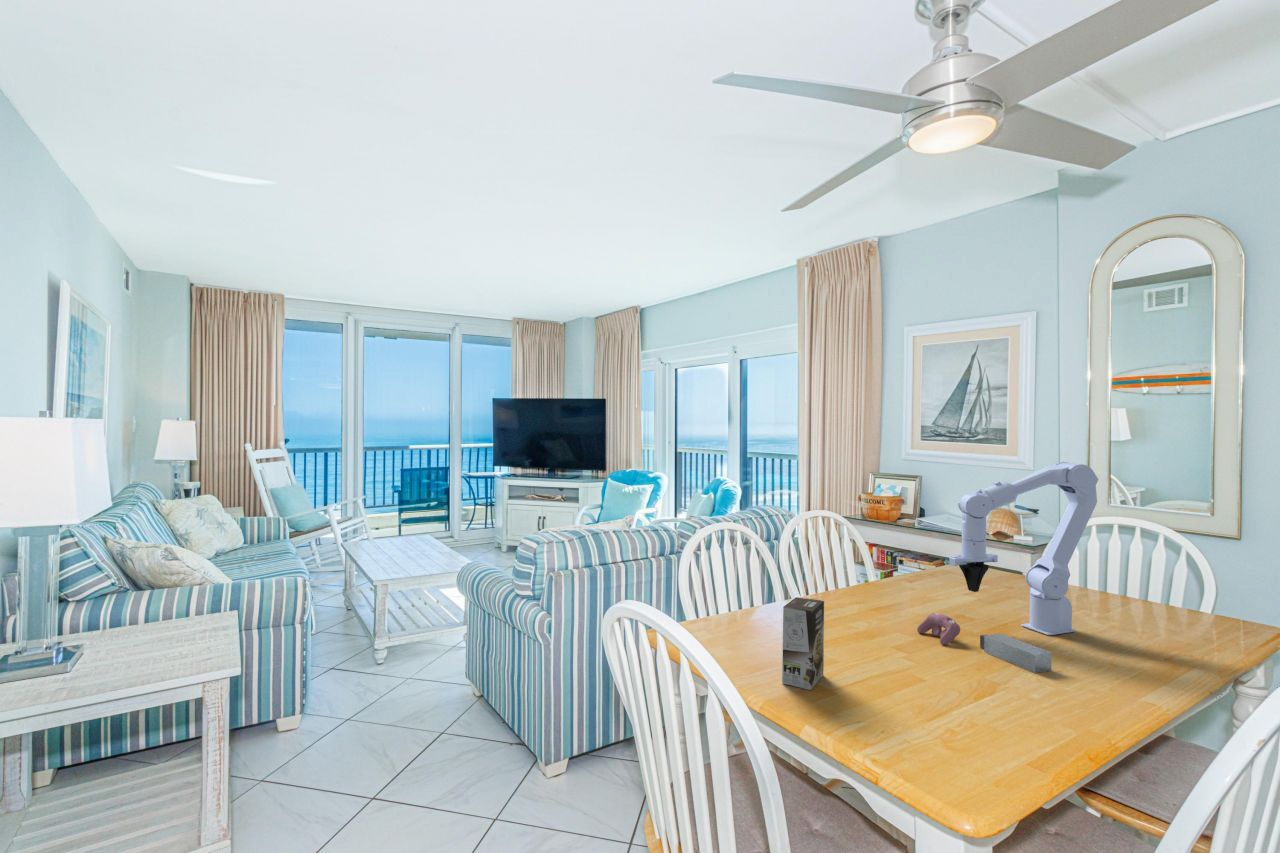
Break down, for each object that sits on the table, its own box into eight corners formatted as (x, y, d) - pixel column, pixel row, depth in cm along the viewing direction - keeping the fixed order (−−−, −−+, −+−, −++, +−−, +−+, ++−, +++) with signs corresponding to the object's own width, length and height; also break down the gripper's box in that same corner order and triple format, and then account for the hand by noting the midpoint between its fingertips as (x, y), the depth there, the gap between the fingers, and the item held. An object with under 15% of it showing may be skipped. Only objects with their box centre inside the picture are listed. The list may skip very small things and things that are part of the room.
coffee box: (812, 691, 126) (812, 611, 126) (781, 683, 129) (781, 606, 129) (824, 675, 134) (825, 600, 133) (795, 669, 137) (795, 595, 137)
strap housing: (999, 649, 149) (999, 633, 149) (1051, 670, 137) (1051, 652, 137) (984, 651, 147) (984, 635, 147) (1034, 673, 135) (1035, 655, 135)
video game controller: (955, 651, 152) (966, 624, 153) (941, 644, 151) (952, 617, 152) (927, 637, 161) (938, 612, 162) (914, 630, 160) (924, 605, 161)
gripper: (982, 535, 171) (981, 584, 172) (940, 538, 167) (939, 589, 167) (1004, 540, 165) (1004, 591, 165) (961, 543, 160) (961, 596, 160)
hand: (973, 590), depth 165 cm, fingers closed
